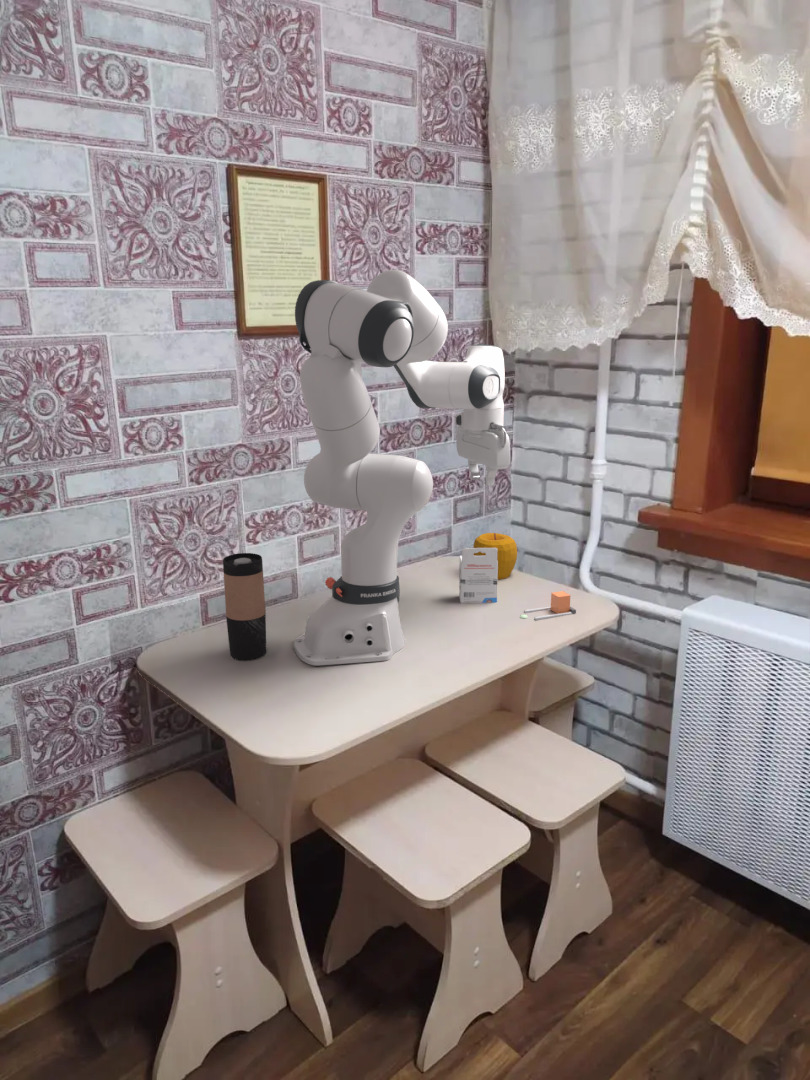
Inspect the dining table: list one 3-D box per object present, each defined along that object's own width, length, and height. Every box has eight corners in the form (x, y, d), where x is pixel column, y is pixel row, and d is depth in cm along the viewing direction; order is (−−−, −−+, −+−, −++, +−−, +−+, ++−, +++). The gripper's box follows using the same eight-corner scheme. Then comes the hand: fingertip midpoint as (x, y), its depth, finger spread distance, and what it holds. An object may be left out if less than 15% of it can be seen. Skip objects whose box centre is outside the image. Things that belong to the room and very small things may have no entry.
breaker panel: (528, 630, 169) (528, 618, 168) (496, 607, 183) (496, 596, 182) (577, 623, 173) (578, 611, 173) (543, 601, 187) (543, 590, 186)
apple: (524, 582, 201) (526, 533, 197) (497, 592, 193) (499, 541, 190) (490, 572, 208) (491, 525, 205) (463, 582, 201) (464, 533, 197)
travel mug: (263, 644, 163) (258, 551, 157) (271, 658, 156) (266, 561, 150) (226, 649, 160) (219, 555, 155) (232, 664, 153) (225, 566, 148)
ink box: (494, 602, 187) (496, 542, 183) (497, 609, 182) (498, 548, 178) (458, 602, 186) (459, 542, 182) (460, 609, 182) (461, 548, 178)
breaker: (557, 615, 173) (558, 597, 172) (550, 611, 176) (551, 592, 175) (569, 614, 174) (570, 595, 173) (562, 609, 177) (563, 591, 176)
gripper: (518, 425, 165) (516, 490, 169) (476, 415, 183) (475, 473, 187) (491, 426, 163) (490, 492, 166) (451, 416, 181) (451, 475, 185)
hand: (482, 482), depth 177 cm, fingers open, 6 cm apart
